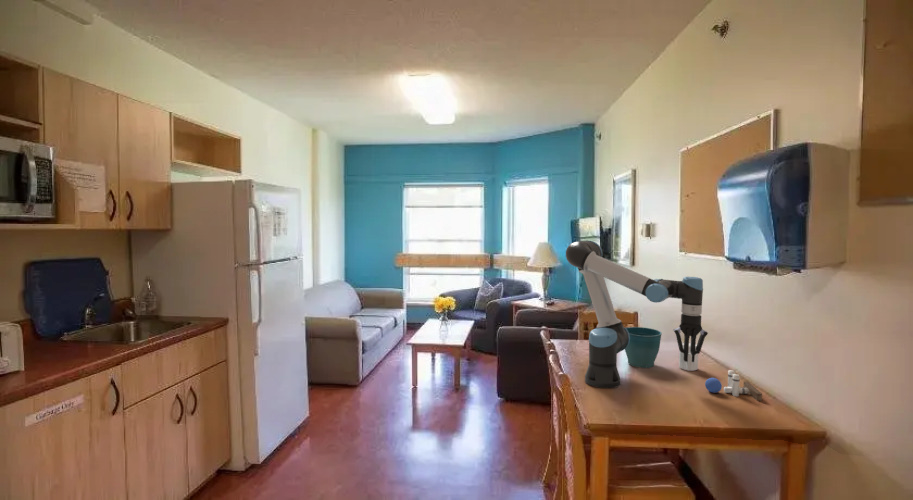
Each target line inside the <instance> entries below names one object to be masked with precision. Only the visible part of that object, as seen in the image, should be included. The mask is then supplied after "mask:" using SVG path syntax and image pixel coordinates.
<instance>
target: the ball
mask: <svg viewBox="0 0 913 500" xmlns="http://www.w3.org/2000/svg"><path fill="white" fill-rule="evenodd" d="M722 385H723V384H722V382H721V381H720V380H719V379H718V378H716V377H709V378H708V379H706V380H705V383H704V386H705V388H706V389H707V391H708V392H710V393H714V394H715V393H719V392H720V391H721V390H722Z"/></svg>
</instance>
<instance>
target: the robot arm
mask: <svg viewBox="0 0 913 500" xmlns="http://www.w3.org/2000/svg"><path fill="white" fill-rule="evenodd" d="M565 257H566V260H567V262H568V263H569V264H570V265H572V266H573V267H575V268H577V270H578V272H579V273H580V274H582V275H583V278H584V281H585V284H586V287H587V290H588V294H589V297H590V300H591V303H592V306H593V307H592V308H593V310H594V313H595V315H596V319H597V322H598V324H597V325H596V327H595V328H594V329H592V330H590V332H589V335H588V336H589V337H588V366H587V369H586V372H585V373H584V374H585V375H584V382H585V383H586V384H587V385H589V386H591V387H594V388H599V389H615V388H618V387H620V386H621V385H622V384H621V382H622V381H621V379H622V378H621V376H620V374H619V370H618V367H617V359H618V358H617V356H618V353H620V352H622V351H625V348H626V347H627V346H628V344H629V342H630V335H629V332H628V330H627V329H626V328H627V327H624V324H623V321H622V320H621V319H619V318H618V317H617V314H616V311H615V308H614V305H613V302H612V299H611V296H610V293H609V290H608V287H607V283H606V281H605V279H608V280H609V281H612V282H614V283H616V284H619V285H621V286H622V287H625V288H627V289H629V290H632V291H633V292H636V293H638V294H640V295H642V296H645V297H646V298H647V299H648V301H650V302H651V303H656V304H657V303H662V302H664V301H665V300H667V299H669V298H671V299H681V310H680V311H681V314H680V324H679V326H678V327H677V328H674V329H673V332H674V333H675V336H676V343H677V347H678V351H679V350H680V351H681V352H682V353H684V361H686V369H687V370H686V371H688V370H691V367H692V362H694V358H695V355H696V354H698V355H700V353H701V351H702V348H703V344H704V341H705V339H706V337H707V336H708V334H709V332H708V331H707V330H704V329H703V326H702V312H703V310H702V309H703V295H704V294H703V293H704V284H703V283H704V280H703V279H702V278H701V277H698V276H697V277H696V276H684V277H683V278H682V280H675V279H674V280H672V279H663V278H655V279H652V278H651V277H647V276H646V275H643V274H641V273H638V272H636V271H634V270H631V269H630V268H628V267H625V266H623V265H620V264H618V263H615V262H614V261H611V260H608V259H607V258H604V257H603V250H602V248H601V246H600V245H599V244H598V243H597V242H596V241H593V240H582V241H581V240H580V241H574V242H572V243H570V244H569V245H568V247H566V250H565ZM681 332H682V334H683V335H684V336H683V338H684V341H683V342H684V349H683V345H682V343H683V342H682V335H681ZM699 334H700V335H699ZM698 335H699V337H698V339H697V336H698ZM697 340H698V341H697ZM689 343H691V349H690V352H691V353H688V350H689ZM696 344H697V346H696ZM695 346H696V349H695Z"/></svg>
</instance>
